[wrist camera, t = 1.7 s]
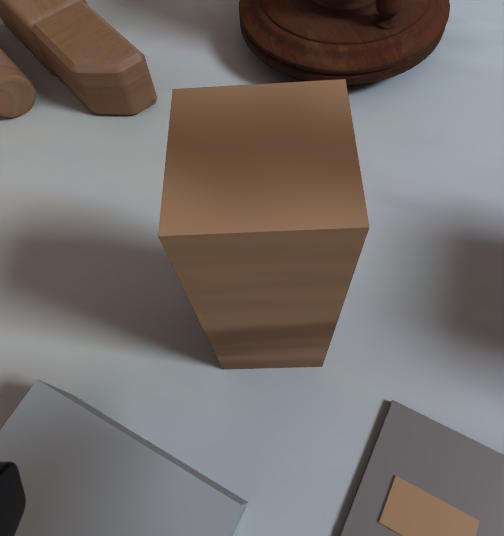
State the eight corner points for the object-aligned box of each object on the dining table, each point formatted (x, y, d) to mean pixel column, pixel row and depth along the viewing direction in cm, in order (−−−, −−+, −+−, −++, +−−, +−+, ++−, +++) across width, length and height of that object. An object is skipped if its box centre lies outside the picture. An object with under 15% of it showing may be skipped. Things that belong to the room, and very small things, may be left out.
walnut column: (322, 366, 22) (369, 227, 10) (222, 369, 22) (158, 236, 10) (314, 276, 24) (345, 79, 12) (224, 280, 24) (172, 89, 13)
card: (471, 674, 16) (475, 678, 16) (322, 580, 18) (323, 581, 17) (522, 466, 19) (526, 465, 19) (391, 401, 21) (393, 399, 20)
